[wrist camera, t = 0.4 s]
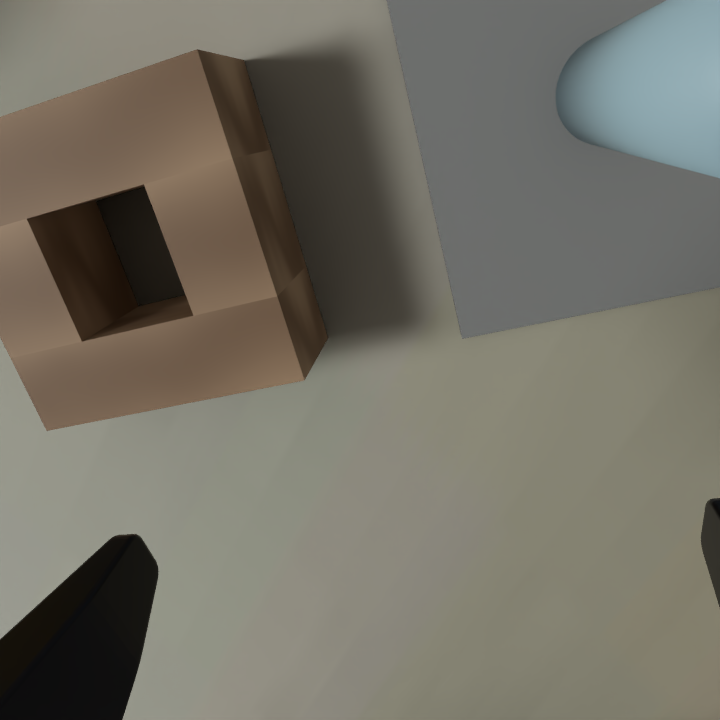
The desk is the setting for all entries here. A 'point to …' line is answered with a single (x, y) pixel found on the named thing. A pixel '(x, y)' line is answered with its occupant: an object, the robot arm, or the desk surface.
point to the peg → (650, 87)
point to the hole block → (181, 233)
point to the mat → (541, 170)
